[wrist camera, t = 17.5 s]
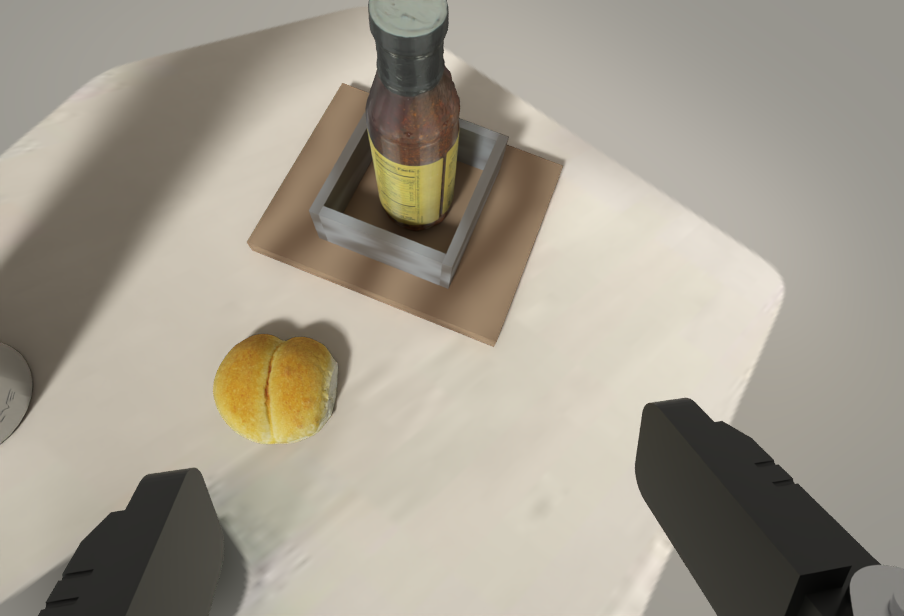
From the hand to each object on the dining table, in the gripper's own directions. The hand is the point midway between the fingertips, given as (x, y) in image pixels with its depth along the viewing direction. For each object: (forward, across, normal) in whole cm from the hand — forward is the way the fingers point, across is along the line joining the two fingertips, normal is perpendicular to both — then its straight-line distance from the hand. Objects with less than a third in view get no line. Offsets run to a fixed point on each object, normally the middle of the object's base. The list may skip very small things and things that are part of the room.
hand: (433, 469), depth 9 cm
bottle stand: (+38, -2, +6) cm, 38 cm away
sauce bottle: (+37, -2, +5) cm, 37 cm away
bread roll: (+28, +10, +16) cm, 34 cm away
